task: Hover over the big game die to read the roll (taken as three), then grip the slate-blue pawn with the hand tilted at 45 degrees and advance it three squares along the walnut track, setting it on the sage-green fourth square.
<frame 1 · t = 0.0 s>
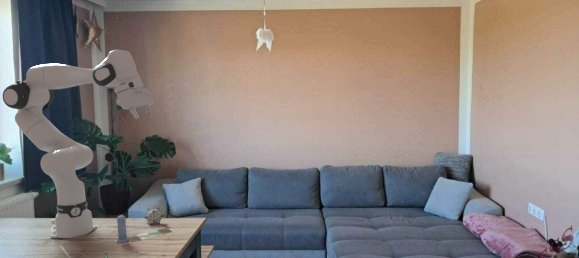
hand: (143, 117, 174), 52 cm above the table, tool tilted 20°, fingers open, 8 cm apart
game die: (154, 225, 195), on the table
pawn: (122, 241, 172), point 1 cm above the table, touching track
track: (144, 238, 178), on the table
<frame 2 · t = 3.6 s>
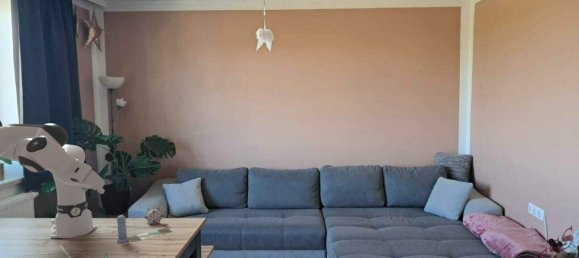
hand: (94, 190, 159), 26 cm above the table, tool tilted 45°, fingers open, 8 cm apart
nothing on the table moved.
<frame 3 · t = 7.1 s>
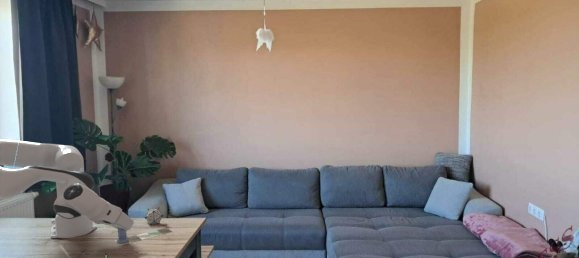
hand: (123, 228, 172), 7 cm above the table, tool tilted 45°, fingers closed on pawn, 3 cm apart
pawn: (122, 241, 172), point 1 cm above the table, touching gripper, track
everything else where it was.
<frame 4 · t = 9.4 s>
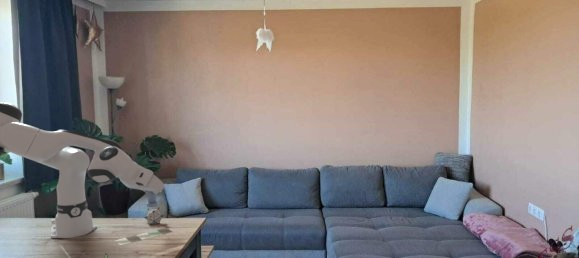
hand: (152, 192, 179), 19 cm above the table, tool tilted 45°, fingers closed on pawn, 3 cm apart
pawn: (152, 205, 179), point 14 cm above the table, touching gripper
everything else where it was.
when the fingers open (8 cm above the table, at t = 11.7 s): pawn drops 1 cm, resting on track.
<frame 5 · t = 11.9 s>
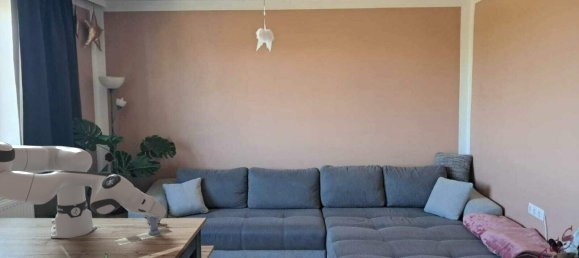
hand: (154, 217, 180), 8 cm above the table, tool tilted 45°, fingers open, 5 cm apart
pawn: (154, 233, 180), point 1 cm above the table, touching track
everything else where it was.
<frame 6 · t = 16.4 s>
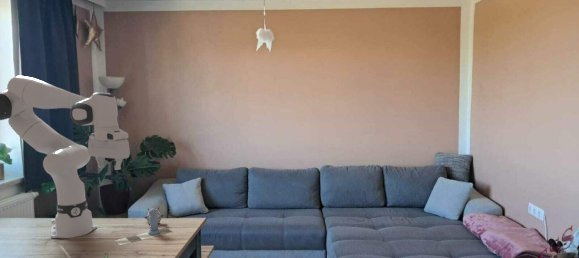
hand: (109, 168, 163), 33 cm above the table, tool pointing down, fingers open, 8 cm apart
nothing on the table moved.
at the end: pawn 0.1 cm from the target spot, point 1.2 cm above the table; pawn tilted 0°; the gripper is holding nothing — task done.
